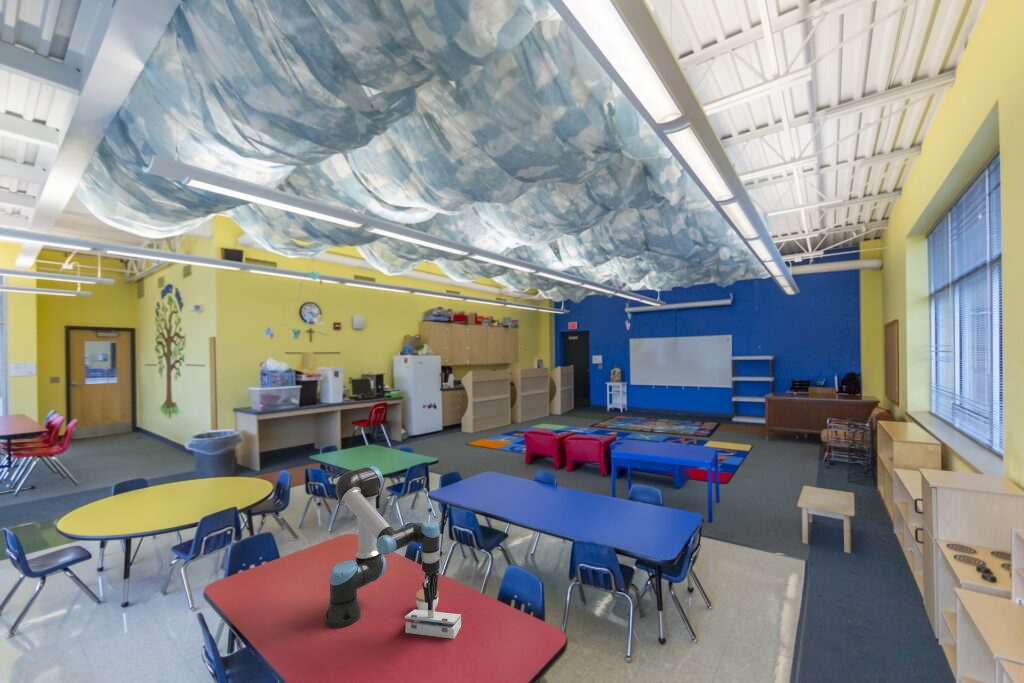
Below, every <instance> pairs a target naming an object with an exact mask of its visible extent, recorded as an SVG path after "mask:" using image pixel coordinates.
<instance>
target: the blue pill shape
mask: <svg viewBox="0 0 1024 683" xmlns="http://www.w3.org/2000/svg"><path fill="white" fill-rule="evenodd" d="M419 623H422V624H430V625H438V626H441V625H440V623H439V622H431V621H422V620H420V621H419Z"/></svg>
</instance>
